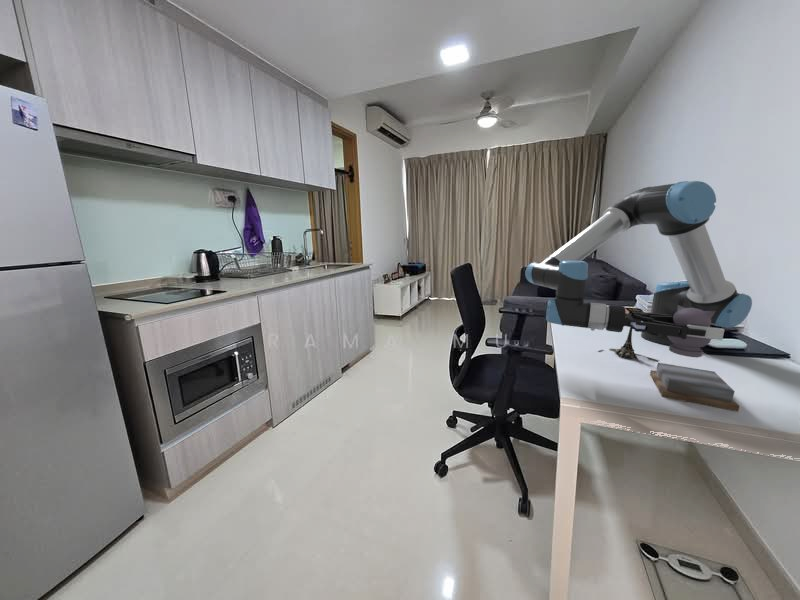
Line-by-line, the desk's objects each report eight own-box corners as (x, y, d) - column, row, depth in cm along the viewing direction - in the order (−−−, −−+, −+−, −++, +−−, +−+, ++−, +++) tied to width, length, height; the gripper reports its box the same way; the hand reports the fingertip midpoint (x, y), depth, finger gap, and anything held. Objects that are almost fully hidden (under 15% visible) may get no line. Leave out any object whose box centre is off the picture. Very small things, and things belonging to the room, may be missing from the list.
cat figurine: (656, 349, 82) (665, 305, 79) (673, 344, 85) (681, 303, 82) (696, 360, 74) (707, 313, 72) (713, 355, 77) (724, 310, 75)
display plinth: (649, 374, 90) (652, 360, 89) (714, 386, 84) (717, 370, 83) (662, 396, 78) (665, 380, 77) (737, 411, 72) (742, 394, 71)
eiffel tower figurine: (660, 362, 100) (668, 323, 97) (646, 369, 95) (653, 328, 93) (611, 347, 113) (617, 313, 110) (596, 353, 108) (601, 316, 105)
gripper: (601, 321, 96) (698, 332, 85) (607, 340, 79) (730, 358, 68) (605, 298, 95) (704, 306, 84) (612, 312, 77) (738, 326, 66)
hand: (715, 329), depth 76 cm, fingers closed on cat figurine, 8 cm apart
